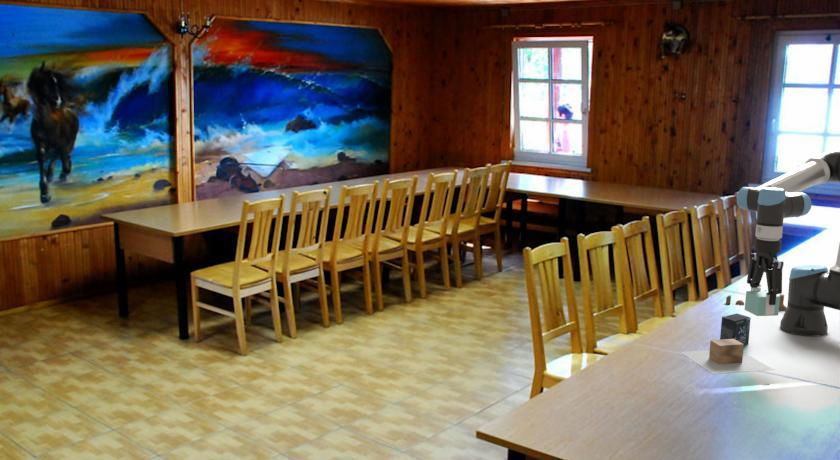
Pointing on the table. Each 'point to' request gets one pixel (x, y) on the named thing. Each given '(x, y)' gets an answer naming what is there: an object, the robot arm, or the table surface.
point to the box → (735, 328)
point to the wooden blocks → (781, 305)
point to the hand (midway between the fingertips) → (761, 311)
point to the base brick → (726, 351)
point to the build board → (714, 368)
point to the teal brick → (759, 303)
